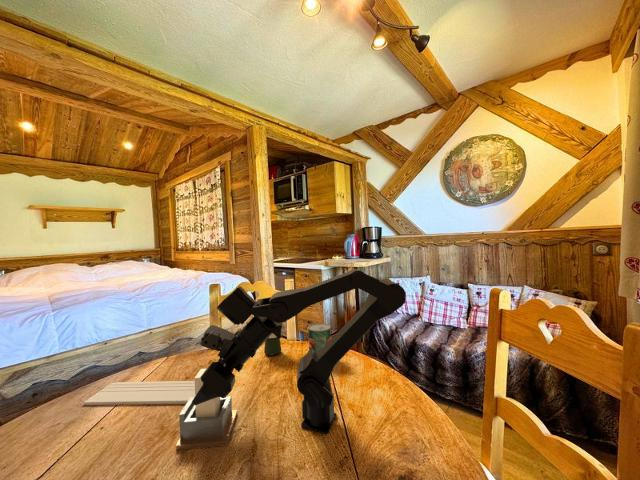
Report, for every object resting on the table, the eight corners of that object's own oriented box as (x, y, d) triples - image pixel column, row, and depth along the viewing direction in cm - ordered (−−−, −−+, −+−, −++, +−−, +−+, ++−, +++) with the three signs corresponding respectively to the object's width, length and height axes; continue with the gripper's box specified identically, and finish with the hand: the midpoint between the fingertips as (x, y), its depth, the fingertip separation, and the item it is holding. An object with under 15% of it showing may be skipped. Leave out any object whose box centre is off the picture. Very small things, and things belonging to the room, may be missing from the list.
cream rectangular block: (220, 419, 62) (219, 367, 62) (215, 431, 58) (213, 376, 58) (202, 420, 62) (201, 368, 62) (196, 433, 58) (194, 377, 58)
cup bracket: (237, 413, 65) (236, 389, 65) (226, 445, 55) (225, 416, 55) (194, 417, 64) (193, 392, 64) (176, 450, 55) (175, 420, 54)
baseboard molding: (118, 382, 82) (83, 408, 70) (118, 373, 82) (83, 397, 70) (219, 381, 82) (201, 406, 70) (218, 371, 82) (200, 395, 70)
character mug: (289, 349, 102) (288, 315, 102) (285, 357, 95) (284, 321, 95) (261, 348, 103) (260, 315, 103) (255, 357, 96) (254, 321, 96)
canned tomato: (304, 356, 95) (304, 326, 95) (323, 351, 100) (322, 321, 99) (316, 365, 89) (315, 332, 88) (336, 359, 93) (335, 327, 93)
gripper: (233, 303, 69) (190, 349, 68) (210, 328, 51) (150, 391, 50) (265, 332, 70) (223, 377, 69) (254, 367, 51) (196, 429, 51)
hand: (201, 390), depth 60 cm, fingers open, 9 cm apart
